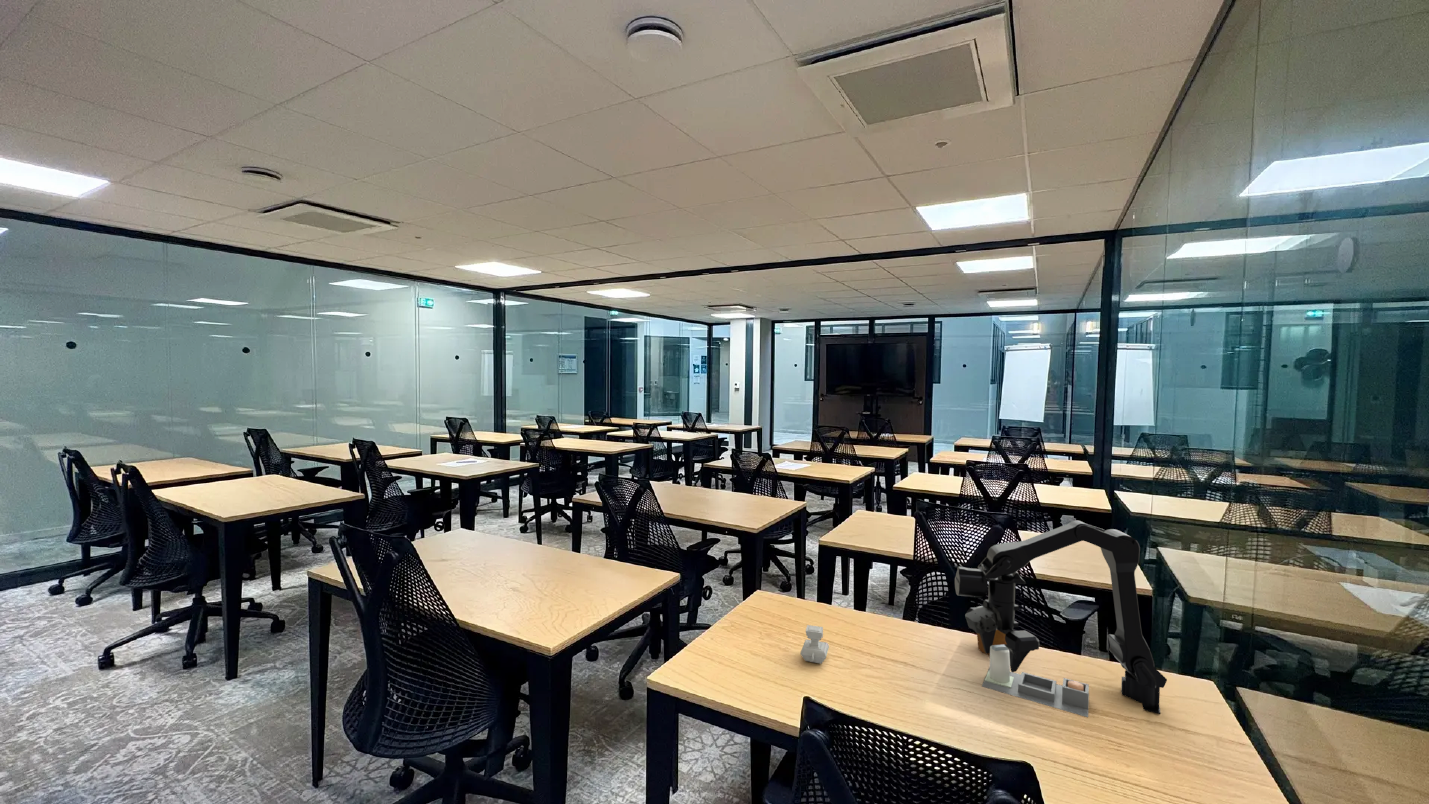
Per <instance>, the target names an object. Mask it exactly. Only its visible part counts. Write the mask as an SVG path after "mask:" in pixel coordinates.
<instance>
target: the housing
mask: <svg viewBox="0 0 1429 804" xmlns="http://www.w3.org/2000/svg"><path fill="white" fill-rule="evenodd" d="M989 673H990V666H988V669H987V672H986V674H985V677H984V679H983V682H982V684H981V687H982V688H985V689H988V690H989V689H990V690H993V691H997V692H1000V693H1004V694H1006V695H1010V696H1013V697H1016V698H1020V699H1024V700H1027V701H1030V702H1032V703H1037V704H1040V705H1043V706H1048V707H1050V708H1055V709H1057V710H1061V711H1065V712H1067V713H1072V714H1075V715H1078V716H1081V717H1086V718H1088V717H1089V704H1090V703H1089V698H1090V697H1089V696H1090V693H1089V692H1090V690H1089V689H1090V688H1089V687H1090V686H1089V685H1090V684H1088V683H1084V682H1082V681H1077V680H1074V679H1070V678H1066V677H1063V678H1062V679H1063V680H1062V685H1061V684H1057V680H1054V679H1051V678H1047V677H1043V676H1039V675H1035V674H1031V673H1028V672H1025V671H1021V673H1017V672H1011V671H1010V681H1009V682H1008V683H999V682H996V681H994V680H992V679H991V678H990V677H989ZM1068 681H1076V682H1079V683H1081V684H1083V686H1084V690H1083V691H1080V690H1077V689H1073V688H1069V687H1068Z"/></svg>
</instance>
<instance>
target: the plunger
mask: <svg viewBox="0 0 1429 804" xmlns="http://www.w3.org/2000/svg"><path fill="white" fill-rule="evenodd" d="M1076 681H1077V680H1074V681H1068V687H1069V688H1073V689H1077V690H1080V691H1083V690H1084V686H1083V684H1081V683H1082V682H1081V683H1079V682H1080V681H1078V682H1076Z"/></svg>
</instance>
